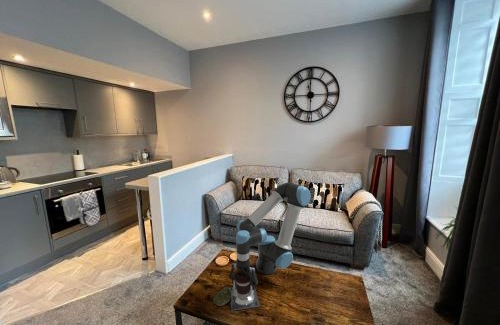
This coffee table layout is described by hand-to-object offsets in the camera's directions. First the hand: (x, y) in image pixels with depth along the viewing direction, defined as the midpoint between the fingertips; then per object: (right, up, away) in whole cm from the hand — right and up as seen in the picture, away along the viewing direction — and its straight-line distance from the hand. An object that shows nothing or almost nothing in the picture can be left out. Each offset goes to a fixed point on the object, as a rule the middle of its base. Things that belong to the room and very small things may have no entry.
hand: (243, 291), depth 126 cm
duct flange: (0, -4, +1) cm, 4 cm away
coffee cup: (0, -3, 0) cm, 3 cm away
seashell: (-12, -4, 0) cm, 13 cm away
